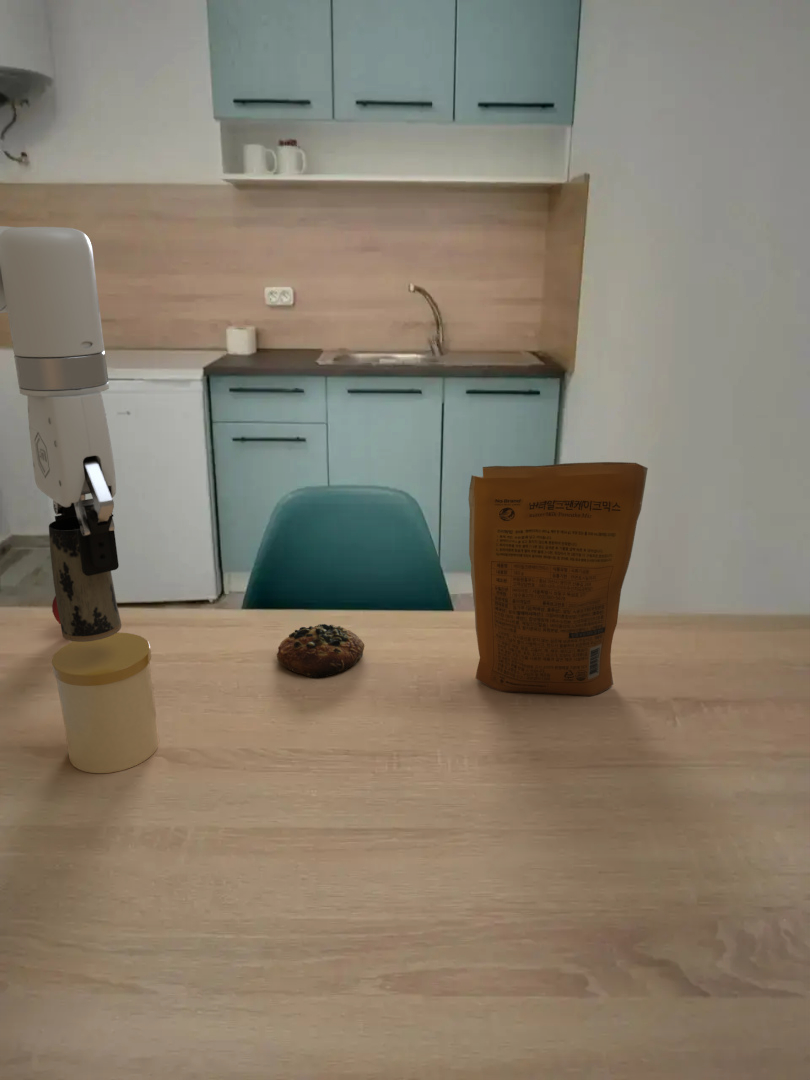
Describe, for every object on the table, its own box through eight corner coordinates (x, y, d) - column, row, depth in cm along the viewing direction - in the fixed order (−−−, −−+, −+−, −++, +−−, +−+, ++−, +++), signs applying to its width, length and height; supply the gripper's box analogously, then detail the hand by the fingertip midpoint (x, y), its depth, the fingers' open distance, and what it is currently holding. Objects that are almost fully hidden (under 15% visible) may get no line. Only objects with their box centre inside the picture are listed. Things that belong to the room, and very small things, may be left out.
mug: (102, 644, 78) (86, 523, 75) (49, 640, 79) (30, 520, 76) (141, 611, 86) (128, 499, 82) (92, 608, 87) (77, 498, 83)
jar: (55, 743, 88) (39, 648, 84) (141, 714, 93) (130, 624, 90) (84, 786, 81) (68, 685, 77) (175, 752, 86) (164, 656, 83)
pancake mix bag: (630, 706, 95) (654, 468, 86) (463, 697, 97) (469, 464, 87) (622, 677, 101) (643, 453, 92) (465, 670, 103) (470, 449, 94)
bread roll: (297, 685, 99) (294, 645, 98) (264, 659, 108) (262, 623, 107) (379, 666, 104) (377, 628, 103) (341, 644, 114) (339, 608, 113)
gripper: (-6, 367, 79) (24, 545, 84) (47, 390, 66) (77, 599, 72) (75, 361, 83) (98, 531, 89) (140, 381, 70) (161, 579, 76)
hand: (88, 559), depth 80 cm, fingers closed on mug, 6 cm apart
